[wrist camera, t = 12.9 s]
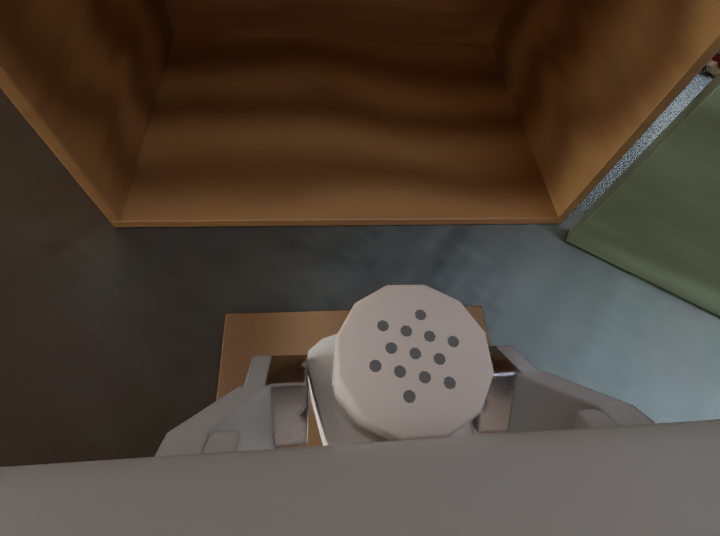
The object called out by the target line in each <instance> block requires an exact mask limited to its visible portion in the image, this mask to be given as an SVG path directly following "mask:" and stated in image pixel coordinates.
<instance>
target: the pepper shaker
mask: <svg viewBox="0 0 720 536" xmlns="http://www.w3.org/2000/svg"><path fill="white" fill-rule="evenodd" d="M493 375H494V370H493V365H492V361H491V357H490V352H489V348H488V343H487V339H486V334H485V332H484V330H483V329H482V328H481V327H480V325H479V324H478V323H477V322H476V321H475V319H474V318H473V317H472V316H471V315H470V313H469V312H468V311H467V310H466V308H465V307H464V306H463V305H462V304H461V302H460V301H458V300H456V299H454V298H452V297H450V296H448V295H446V294H443V293H441V292H439V291H437V290H435V289H433V288H431V287H429V286H426V285H386V286H384V287H383V288H381V289H379V290H377V291H376V292H374V293H372V294H370V295H369V296H367V297H365V298H363V299H362V300H360V301H358V302H356V303H355V304H354V305H353V307H352V309H351V311H350V313H349V314H348V316H347V318H346V320H345V321H344V323H343V325H342V327H341V329H340V330H339V332H338V333H337V334H335V335H332V336H329V337H326V338H323V339H321V340H320V341H319V342H318V343H317V344H316V345H314V346H313V347H312V348H311V349H310V350H309V351H308V383H309V389H310V396H311V402H312V406H313V410H314V413H315V417H316V421H317V425H318V429H319V433H320V437H321V440H322V444H323V446H325V445H340V444H355V443H371V442H386V441H401V440H416V439H431V438H447V437H462V436H474V426H473V418H475V417H476V416H477V415H478V414H480V413H481V412H482V409H483V406H484V403H485V400H486V397H487V393H488V390H489V387H490V384H491V381H492V378H493Z"/></svg>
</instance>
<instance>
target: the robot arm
mask: <svg viewBox="0 0 720 536" xmlns="http://www.w3.org/2000/svg"><path fill="white" fill-rule="evenodd" d="M488 348H489V352H490V357H491V361H492V365H493V370H494V375H493V378H492V381H491V384H490V387H489V390H488V393H487V397H486V400H485V403H484V406H483V409H482V412H481V413H480V414H478V415H477V416H476V417H475V418H473V426H474V428H475V429H476V431H477V433H478V434H481V433H507V434H492V435H477V436H462V437H447V438H431V439H416V440H401V441H386V442H371V443H355V444H340V445H325V446H310V447H294V448H279V449H275V448H278V447H289V446H300V445H308V417H309V383H308V355H273V356H272V355H265V356H254V357H253V359H252V362H251V365H250V368H249V371H248V374H247V377H246V380H245V383H244V386H241V387H237V388H235V389H234V390H232V391H231V392H229V393H228V394H226V395H225V396H223V397H222V398H220V399H219V400H217V401H215V402H214V403H212V404H211V405H209V406H208V407H206V408H205V409H203V410H202V411H200V412H199V413H197V414H196V415H194V416H192V417H191V418H189V419H188V420H186V421H185V422H183V423H182V424H180V425H179V426H177V427H176V428H174V429H172V430H171V431H169V432H168V433H167V434H166V436H165V438H164V439H163V441H162V443H161V445H160V447H159V448H158V450H157V452H156V454H155V456H154V457H145V458H130V459H115V460H100V461H85V462H70V463H54V464H39V465H24V466H9V467H0V536H720V419H718V420H703V421H687V422H672V423H657V424H656V423H655V422H653V421H652V420H651V419H650V418H648V417H647V416H646V415H645V414H643V413H642V412H641V411H639V410H638V409H637V408H636V407H634V406H633V405H631V404H628V403H625V402H623V401H620V400H618V399H615V398H612V397H610V396H607V395H605V394H602V393H599V392H597V391H594V390H591V389H589V388H586V387H584V386H581V385H578V384H576V383H573V382H570V381H568V380H565V379H563V378H560V377H557V376H555V375H552V374H550V373H547V372H539V371H538V370H537V369H536V368H535V367H534V366H533V365H532V364H531V363H530V362H529V361H528V360H527V359H525V358H524V357H523V356H522V355H521V354H520V353H519V352H518V351H517V350H516V349H515V348H514V347H513V346H510V345H505V346H488Z"/></svg>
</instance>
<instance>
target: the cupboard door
mask: <svg viewBox="0 0 720 536" xmlns="http://www.w3.org/2000/svg"><path fill="white" fill-rule="evenodd" d="M566 241H568V242H570V243H572V244H574V245H576V246H578V247H580V248H582V249H584V250H586V251H588V252H590V253H592V254H594V255H596V256H598V257H600V258H602V259H604V260H606V261H608V262H610V263H612V264H614V265H616V266H618V267H620V268H622V269H624V270H626V271H628V272H631V273H633V274H635V275H637V276H639V277H641V278H643V279H645V280H647V281H649V282H651V283H653V284H655V285H657V286H659V287H661V288H663V289H665V290H667V291H669V292H671V293H673V294H675V295H677V296H679V297H681V298H683V299H685V300H687V301H689V302H691V303H693V304H695V305H697V306H699V307H702V308H704V309H706V310H708V311H710V312H712V313H714V314H716V315H718V316H720V72H719V73H718V74H717V75H716V76H715V77H714V79H713V80H712V81H711V82H710V83H709V84H708V85H707V86H706V87H705V88H704V89H703V90H702V91H701V92H700V93H699V94H698V95H697V96H696V97H695V98H694V99H693V100H692V101H691V103H690V104H689V105H688V106H687V107H686V108H685V109H684V110H683V111H682V112H681V113H680V114H679V115H678V116H677V117H676V118H675V119H674V120H673V121H672V122H671V123H670V124H669V125H668V127H667V128H666V129H665V130H664V131H663V132H662V133H661V134H660V135H659V136H658V137H657V138H656V139H655V140H654V141H653V142H652V143H651V144H650V145H649V146H648V147H647V148H646V149H645V151H644V152H643V153H642V154H641V155H640V156H639V157H638V158H637V159H636V160H635V161H634V162H633V163H632V164H631V165H630V166H629V167H628V168H627V169H626V170H625V171H624V172H623V174H622V175H621V176H620V177H619V178H618V179H617V180H616V181H615V182H614V183H613V184H612V185H611V186H610V187H609V188H608V189H607V190H606V191H605V192H604V193H603V194H602V195H601V196H600V198H599V199H598V200H597V201H596V202H595V203H594V204H593V205H592V206H591V207H590V208H589V209H588V210H587V211H586V212H585V213H584V214H583V215H582V216H581V217H580V218H579V219H578V220H577V222H576V223H575V224H574V225H573V226H572V227H571V228H570V231H569V233H568V236H567V238H566Z"/></svg>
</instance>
